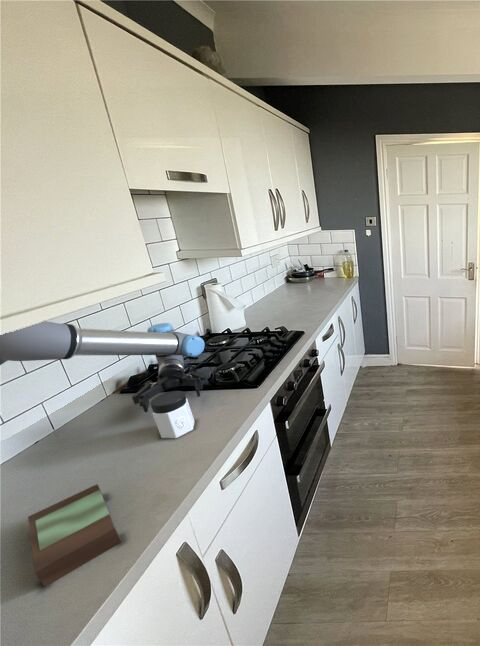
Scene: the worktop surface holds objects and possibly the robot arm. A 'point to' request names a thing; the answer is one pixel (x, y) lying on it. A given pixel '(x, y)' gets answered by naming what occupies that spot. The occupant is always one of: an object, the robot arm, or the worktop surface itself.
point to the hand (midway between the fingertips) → (172, 400)
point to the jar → (172, 414)
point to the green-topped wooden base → (71, 534)
